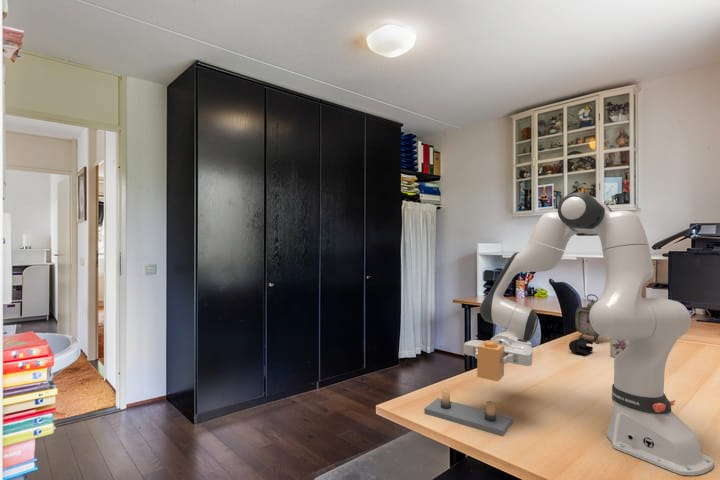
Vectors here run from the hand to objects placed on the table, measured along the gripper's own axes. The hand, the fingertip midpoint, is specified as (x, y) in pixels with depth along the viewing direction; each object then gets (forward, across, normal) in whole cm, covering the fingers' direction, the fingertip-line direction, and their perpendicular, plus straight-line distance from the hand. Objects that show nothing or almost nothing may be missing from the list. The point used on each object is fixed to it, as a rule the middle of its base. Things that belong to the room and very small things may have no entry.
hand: (489, 358), depth 115 cm
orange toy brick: (-1, 0, +6) cm, 6 cm away
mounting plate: (-1, -7, +20) cm, 21 cm away
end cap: (-99, +13, +20) cm, 102 cm away
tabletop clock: (-129, +15, +20) cm, 131 cm away
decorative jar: (-103, +32, +20) cm, 110 cm away
